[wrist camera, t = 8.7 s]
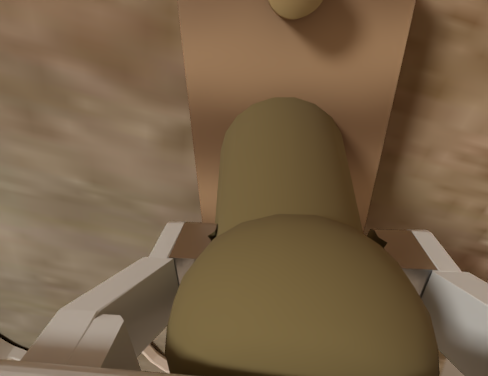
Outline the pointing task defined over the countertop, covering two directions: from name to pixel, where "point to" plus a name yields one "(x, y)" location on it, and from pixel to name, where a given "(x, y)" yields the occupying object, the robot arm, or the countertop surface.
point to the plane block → (293, 73)
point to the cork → (294, 265)
